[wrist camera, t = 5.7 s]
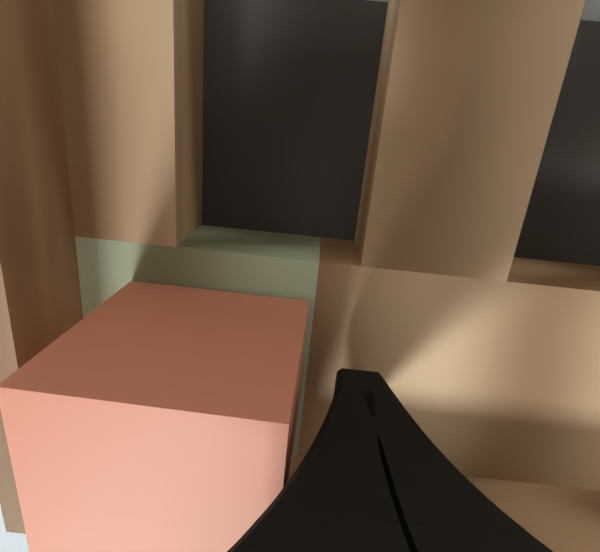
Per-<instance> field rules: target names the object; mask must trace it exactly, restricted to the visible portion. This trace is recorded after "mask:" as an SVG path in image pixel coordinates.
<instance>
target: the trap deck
mask: <svg viewBox="0 0 600 552" xmlns="http://www.w3.org/2000/svg"><path fill="white" fill-rule="evenodd" d="M585 2H586V0H389V2H377V1H366V0H0V383H1V382H2V381H4V380H5V379H6V378H8V377H9V376H10V375H11V374H13V373H14V372H15V371H16V370H18V369H19V368H20V367H22V366H23V365H24V364H25V363H27V362H28V361H29V360H31V359H32V358H33V357H34V356H36V355H37V354H38V353H39V352H41V351H42V350H43V349H45V348H46V347H47V346H48V345H50V344H51V343H52V342H54V341H55V340H56V339H57V338H59V337H60V336H61V335H62V334H64V333H65V332H66V331H68V330H69V329H70V328H71V327H73V326H74V325H75V324H77V323H78V322H79V321H80V320H82V319H83V318H84V317H85V316H87V315H88V314H89V313H91V312H92V311H93V310H94V309H96V308H97V307H98V306H100V305H101V304H102V303H103V302H105V301H106V300H107V299H108V298H110V297H111V296H112V295H114V294H115V293H116V292H117V291H119V290H120V289H121V288H122V287H124V286H125V285H126V284H128V283H129V282H130V281H139V282H148V283H157V284H166V285H175V286H184V287H192V288H201V289H210V290H219V291H228V292H236V293H245V294H254V295H263V296H272V297H281V298H289V299H298V300H307V301H309V308H308V318H307V327H306V337H305V347H304V357H303V367H302V377H301V387H300V396H299V406H298V416H297V426H296V436H295V445H294V453H293V460H292V467H291V475H290V478H291V477H292V475H293V474H294V472H295V471H296V469H297V468H298V466H299V465H300V463H301V462H302V460H303V459H304V457H305V455H306V454H307V452H308V450H309V449H310V447H311V445H312V443H313V442H314V440H315V438H316V436H317V434H318V432H319V430H320V428H321V426H322V424H323V422H324V420H325V417H326V415H327V413H328V410H329V407H330V405H331V402H332V400H333V395H334V388H335V381H336V374H337V371H339V370H340V369H342V368H345V369H355V370H364V371H373V372H379V373H380V375H381V376H382V377H383V378H384V380H385V381H386V383H387V384H388V385H389V387H390V388H391V390H392V391H393V393H394V394H395V395H396V397H397V398H398V399H399V401H400V402H401V403H402V405H403V406H404V408H405V409H406V410H407V412H408V413H409V414H410V415H411V417H412V418H413V419H414V420H415V422H416V423H417V424H418V425H419V427H420V428H421V429H422V430H423V432H424V433H425V434H426V435H427V437H428V438H429V439H430V440H431V441H432V442H433V443H434V445H435V446H436V447H437V448H438V449H439V450H440V451H441V452H442V453H443V454H444V456H445V457H446V458H447V459H448V460H449V461H450V462H451V463H452V464H453V465H454V466H455V467H456V468H457V469H458V470H459V471H460V472H461V473H462V474H463V475H464V476H465V477H466V478H467V479H468V480H469V481H470V482H471V483H472V484H473V485H474V486H475V487H476V488H478V489H479V490H480V491H481V492H482V493H483V494H484V495H485V496H486V497H487V498H488V499H489V500H490V501H492V502H493V503H494V504H495V505H496V506H497V507H498V508H500V509H501V510H502V511H503V512H504V513H506V514H507V515H508V516H509V517H510V518H512V519H513V520H514V521H515V522H516V523H518V524H519V525H520V526H521V527H523V528H524V529H525V530H526V531H527V532H529V533H530V534H531V535H532V536H534V537H535V538H536V539H537V540H539V541H540V542H541V543H543V544H544V545H545V546H547V547H548V548H549V549H551V550H552V551H553V552H600V22H595V21H584V20H580V19H581V16H582V12H583V9H584V5H585ZM0 504H1V509H2V514H3V518H4V523H5V528H6V531H7V532H16V533H24V534H26V532H25V527H24V522H23V517H22V512H21V508H20V503H19V498H18V493H17V488H16V483H15V478H14V473H13V468H12V463H11V459H10V454H9V449H8V444H7V439H6V434H5V429H4V424H3V419H2V414H1V410H0Z"/></svg>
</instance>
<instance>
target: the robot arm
mask: <svg viewBox="0 0 600 552" xmlns="http://www.w3.org/2000/svg"><path fill="white" fill-rule="evenodd" d="M227 552H553V551H552V550H551V549H549V548H548V547H547V546H545V545H544V544H543V543H541V542H540V541H539V540H537V539H536V538H535V537H534V536H532V535H531V534H530V533H529V532H527V531H526V530H525V529H524V528H523V527H521V526H520V525H519V524H518V523H516V522H515V521H514V520H513V519H512V518H510V517H509V516H508V515H507V514H506V513H504V512H503V511H502V510H501V509H500V508H498V507H497V506H496V505H495V504H494V503H493V502H492V501H490V500H489V499H488V498H487V497H486V496H485V495H484V494H483V493H482V492H481V491H480V490H479V489H478V488H476V487H475V486H474V485H473V484H472V483H471V482H470V481H469V480H468V479H467V478H466V477H465V476H464V475H463V474H462V473H461V472H460V471H459V470H458V469H457V468H456V467H455V466H454V465H453V464H452V463H451V462H450V461H449V460H448V459H447V458H446V457H445V456H444V454H443V453H442V452H441V451H440V450H439V449H438V448H437V447H436V446H435V445H434V443H433V442H432V441H431V440H430V439H429V438H428V437H427V435H426V434H425V433H424V432H423V430H422V429H421V428H420V427H419V425H418V424H417V423H416V422H415V420H414V419H413V418H412V417H411V415H410V414H409V413H408V412H407V410H406V409H405V408H404V406H403V405H402V403H401V402H400V401H399V399H398V398H397V397H396V395H395V394H394V393H393V391H392V390H391V388H390V387H389V385H388V384H387V383H386V381H385V380H384V378H383V377H382V376H381V375H380V373H379V372H373V371H364V370H355V369H345V368H342V369H340V370H339V371H337V374H336V381H335V388H334V395H333V400H332V402H331V405H330V407H329V410H328V413H327V415H326V417H325V420H324V422H323V424H322V426H321V428H320V430H319V432H318V434H317V436H316V438H315V440H314V442H313V443H312V445H311V447H310V449H309V450H308V452H307V454H306V455H305V457H304V459H303V460H302V462H301V463H300V465H299V466H298V468H297V469H296V471H295V472H294V474H293V475H292V477H291V478H290V479H289V481H288V482H287V483H286V485H285V486H284V488H283V489H282V490H281V492H280V493H279V494H278V496H277V497H276V498H275V499H274V501H273V502H272V503H271V504H270V506H269V507H268V508H267V509H266V510H265V511H264V512H263V514H262V515H261V516H260V517H259V518H258V519H257V520H256V521H255V522H254V524H253V525H252V526H251V527H250V528H249V529H248V530H247V531H246V533H245V534H244V535H243V536H242V537H241V538H240V539H239V540H238V541H237V542H236V543H235V544H234V545H233V546H232V547H231V548H230V549H229V550H228V551H227Z"/></svg>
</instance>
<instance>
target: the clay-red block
mask: <svg viewBox="0 0 600 552" xmlns="http://www.w3.org/2000/svg"><path fill="white" fill-rule="evenodd" d="M308 308H309V301H307V300H298V299H289V298H281V297H272V296H263V295H254V294H245V293H236V292H228V291H219V290H210V289H201V288H192V287H184V286H175V285H166V284H157V283H148V282H139V281H130V282H129V283H128V284H126V285H125V286H124V287H122V288H121V289H120V290H119V291H117V292H116V293H115V294H114V295H112V296H111V297H110V298H108V299H107V300H106V301H105V302H103V303H102V304H101V305H100V306H98V307H97V308H96V309H94V310H93V311H92V312H91V313H89V314H88V315H87V316H85V317H84V318H83V319H82V320H80V321H79V322H78V323H77V324H75V325H74V326H73V327H71V328H70V329H69V330H68V331H66V332H65V333H64V334H62V335H61V336H60V337H59V338H57V339H56V340H55V341H54V342H52V343H51V344H50V345H48V346H47V347H46V348H45V349H43V350H42V351H41V352H39V353H38V354H37V355H36V356H34V357H33V358H32V359H31V360H29V361H28V362H27V363H25V364H24V365H23V366H22V367H20V368H19V369H18V370H16V371H15V372H14V373H13V374H11V375H10V376H9V377H8V378H6V379H5V380H4V381H2V382H1V383H0V410H1V414H2V419H3V424H4V429H5V434H6V439H7V444H8V449H9V454H10V459H11V463H12V468H13V473H14V478H15V483H16V488H17V493H18V498H19V503H20V508H21V512H22V517H23V522H24V527H25V532H26V537H27V542H28V547H29V552H227V551H228V550H229V549H230V548H231V547H232V546H233V545H234V544H235V543H236V542H237V541H238V540H239V539H240V538H241V537H242V536H243V535H244V534H245V533H246V531H247V530H248V529H249V528H250V527H251V526H252V525H253V524H254V522H255V521H256V520H257V519H258V518H259V517H260V516H261V515H262V514H263V512H264V511H265V510H266V509H267V508H268V507H269V506H270V504H271V503H272V502H273V501H274V499H275V498H276V497H277V496H278V494H279V493H280V492H281V490H282V489H283V488H284V486H285V485H286V483H287V482H288V481H289V479H290V475H291V467H292V460H293V453H294V445H295V436H296V426H297V416H298V406H299V396H300V387H301V377H302V367H303V357H304V347H305V337H306V327H307V318H308Z"/></svg>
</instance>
